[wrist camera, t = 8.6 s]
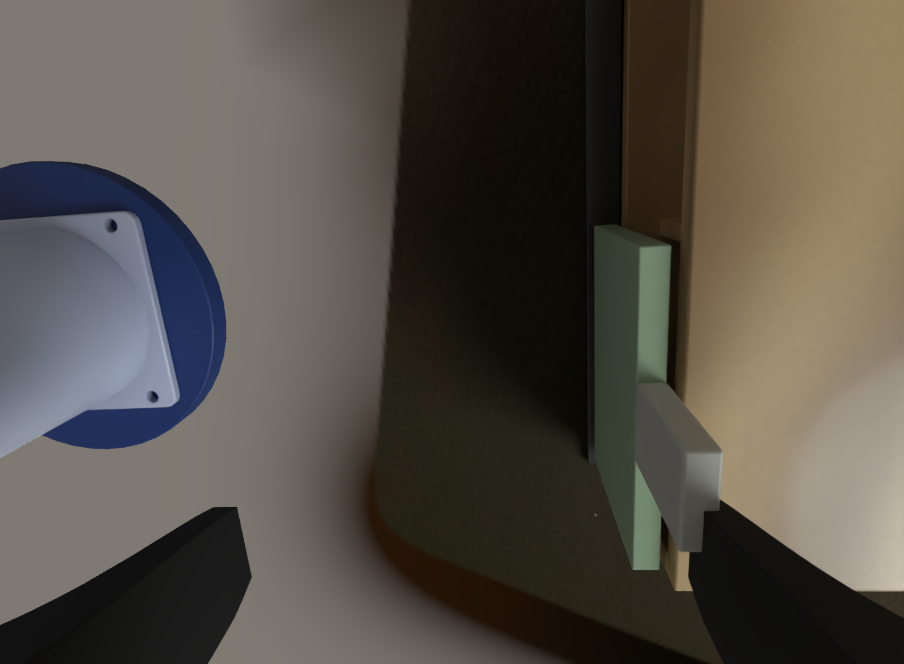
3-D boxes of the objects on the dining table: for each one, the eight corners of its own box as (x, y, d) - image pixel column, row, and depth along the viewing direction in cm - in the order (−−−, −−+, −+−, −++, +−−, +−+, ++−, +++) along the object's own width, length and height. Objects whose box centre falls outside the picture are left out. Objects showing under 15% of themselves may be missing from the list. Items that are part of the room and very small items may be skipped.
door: (594, 460, 22) (672, 687, 12) (594, 225, 19) (692, 271, 10) (614, 459, 22) (708, 688, 12) (616, 224, 19) (738, 268, 9)
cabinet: (586, 460, 23) (628, 591, 16) (583, -70, 18) (643, -247, 10) (911, 453, 21) (1123, 593, 14) (1012, -123, 16) (1432, -371, 9)
